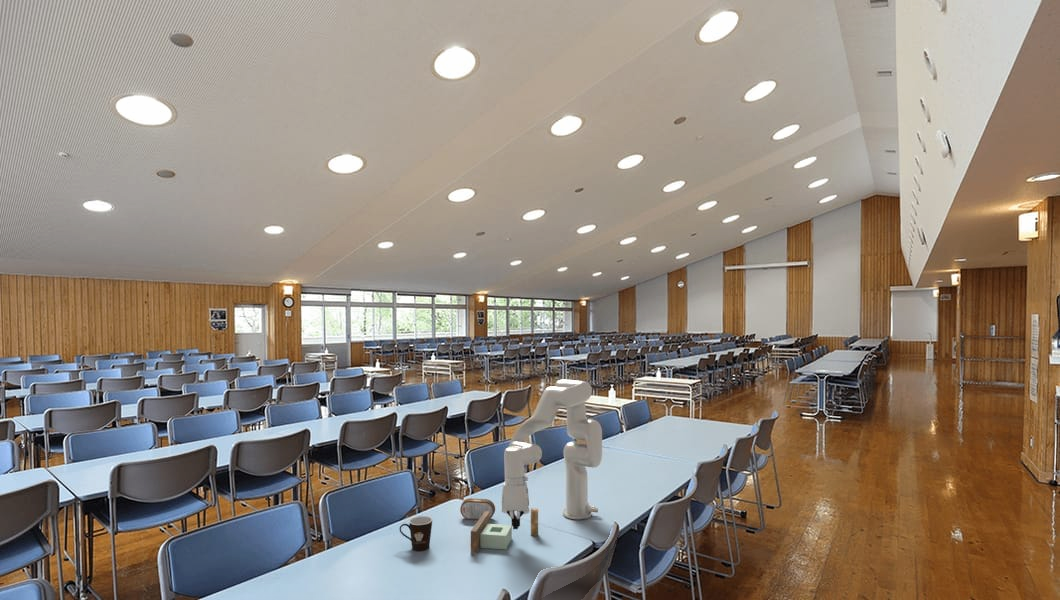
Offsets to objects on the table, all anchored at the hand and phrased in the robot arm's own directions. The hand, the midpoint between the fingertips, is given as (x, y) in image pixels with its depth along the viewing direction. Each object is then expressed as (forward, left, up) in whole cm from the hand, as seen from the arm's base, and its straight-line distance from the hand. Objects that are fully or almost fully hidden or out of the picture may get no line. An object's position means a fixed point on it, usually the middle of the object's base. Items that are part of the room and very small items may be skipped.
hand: (516, 527), depth 195 cm
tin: (+21, -21, -6) cm, 31 cm away
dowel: (-6, -9, -6) cm, 12 cm away
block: (+8, +1, -6) cm, 10 cm away
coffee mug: (+36, +9, -6) cm, 38 cm away
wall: (+14, +1, -6) cm, 15 cm away
